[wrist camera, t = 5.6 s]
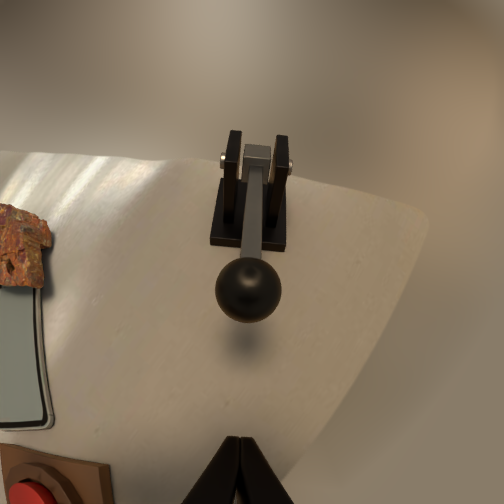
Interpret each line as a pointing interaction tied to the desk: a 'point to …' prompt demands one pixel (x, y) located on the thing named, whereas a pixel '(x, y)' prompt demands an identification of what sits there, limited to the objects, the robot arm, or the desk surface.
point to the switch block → (56, 475)
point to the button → (30, 494)
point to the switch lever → (250, 251)
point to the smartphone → (22, 362)
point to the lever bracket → (234, 198)
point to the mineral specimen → (22, 247)
